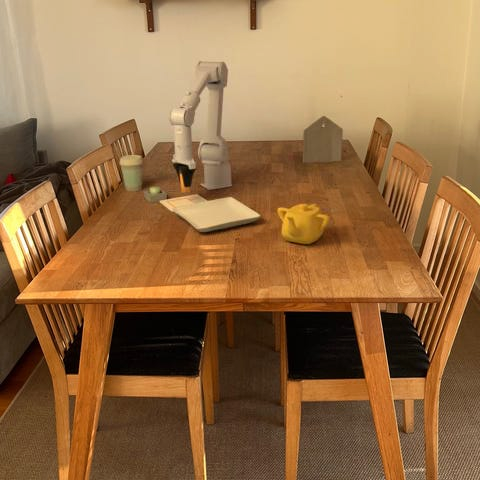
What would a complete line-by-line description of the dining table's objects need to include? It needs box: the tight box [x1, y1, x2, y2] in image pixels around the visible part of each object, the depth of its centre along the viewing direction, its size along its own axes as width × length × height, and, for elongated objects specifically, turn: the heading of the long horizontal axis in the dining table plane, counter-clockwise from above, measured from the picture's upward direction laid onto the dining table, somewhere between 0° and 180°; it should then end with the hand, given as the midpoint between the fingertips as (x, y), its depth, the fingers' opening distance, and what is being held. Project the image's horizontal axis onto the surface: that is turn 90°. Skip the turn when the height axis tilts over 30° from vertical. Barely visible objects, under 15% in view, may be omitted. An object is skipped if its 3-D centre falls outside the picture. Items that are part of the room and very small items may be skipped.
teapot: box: [277, 203, 331, 245], centre depth 161 cm, size 14×13×10 cm
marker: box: [179, 172, 191, 194], centre depth 192 cm, size 3×3×7 cm
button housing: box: [143, 188, 168, 203], centre depth 199 cm, size 6×6×2 cm
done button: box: [149, 186, 161, 195], centre depth 199 cm, size 3×3×3 cm
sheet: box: [159, 193, 208, 213], centre depth 194 cm, size 14×12×1 cm
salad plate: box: [173, 196, 261, 233], centre depth 178 cm, size 21×21×3 cm
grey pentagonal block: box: [302, 115, 344, 164], centre depth 241 cm, size 16×8×19 cm, turn 94°
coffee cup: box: [119, 154, 144, 193], centre depth 209 cm, size 9×8×12 cm
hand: (185, 185), depth 192 cm, fingers closed on marker, 3 cm apart
